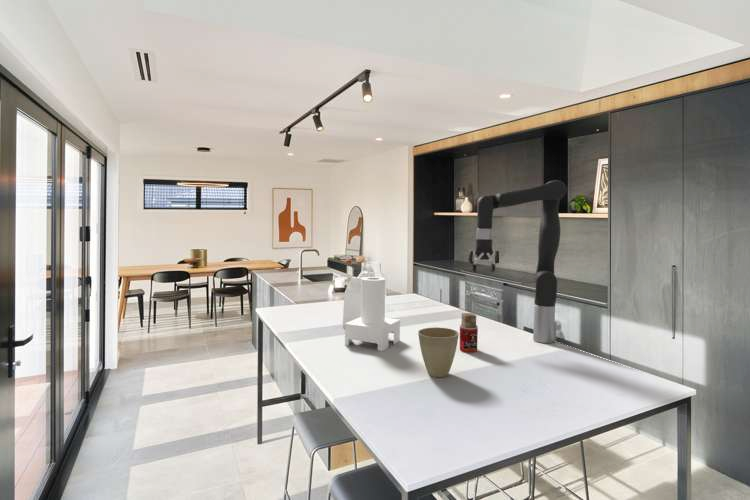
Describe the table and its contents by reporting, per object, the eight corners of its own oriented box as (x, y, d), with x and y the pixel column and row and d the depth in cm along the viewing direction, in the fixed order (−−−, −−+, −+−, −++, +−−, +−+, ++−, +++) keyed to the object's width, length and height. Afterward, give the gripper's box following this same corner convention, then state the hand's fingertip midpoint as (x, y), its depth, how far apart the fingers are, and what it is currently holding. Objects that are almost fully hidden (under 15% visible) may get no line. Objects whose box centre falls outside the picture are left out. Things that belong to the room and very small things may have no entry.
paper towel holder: (344, 345, 203) (344, 279, 200) (365, 335, 219) (365, 274, 217) (381, 351, 194) (382, 282, 191) (399, 340, 210) (400, 277, 208)
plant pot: (453, 367, 174) (454, 326, 173) (461, 381, 159) (462, 337, 158) (415, 367, 174) (415, 327, 172) (420, 381, 159) (420, 337, 158)
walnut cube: (472, 324, 198) (472, 313, 197) (476, 327, 193) (476, 315, 192) (461, 324, 197) (461, 313, 197) (464, 327, 192) (465, 315, 192)
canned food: (464, 353, 191) (465, 328, 190) (456, 348, 199) (456, 324, 198) (480, 352, 193) (481, 327, 192) (471, 347, 201) (472, 323, 200)
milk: (342, 327, 234) (342, 278, 232) (350, 322, 245) (350, 275, 243) (364, 329, 231) (364, 279, 228) (370, 324, 242) (371, 276, 239)
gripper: (496, 237, 215) (495, 271, 217) (467, 237, 214) (466, 271, 215) (501, 238, 208) (500, 273, 209) (471, 238, 207) (471, 273, 208)
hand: (483, 272), depth 212 cm, fingers open, 8 cm apart
